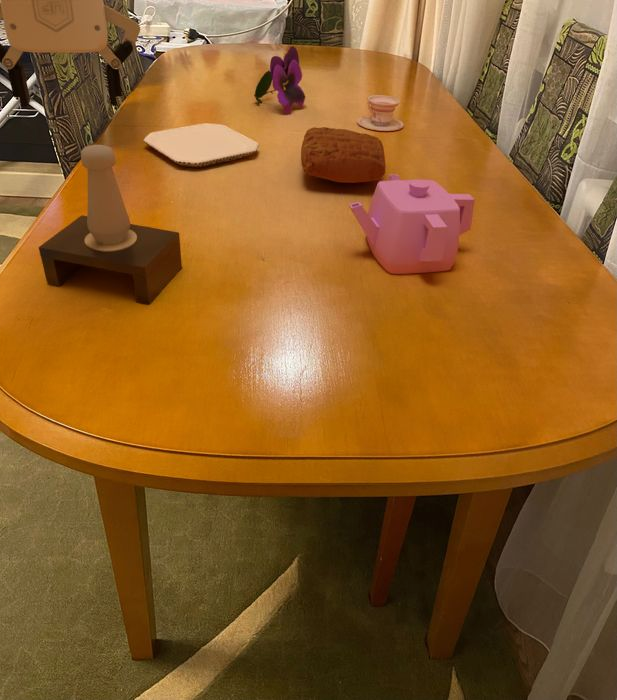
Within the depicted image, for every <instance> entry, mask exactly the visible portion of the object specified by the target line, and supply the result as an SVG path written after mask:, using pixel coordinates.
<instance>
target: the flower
mask: <svg viewBox="0 0 617 700" xmlns="http://www.w3.org/2000/svg"><path fill="white" fill-rule="evenodd" d="M302 78H303V72H302V68H301V65H300V57H299V53H298V50H297V48H296V47H295V46H294V45H293V46H290V47H289V49H288V50H287V52H286V54H285V55H284V57H283V59H282V58H281V57H280V56H278V55H273V56H272V57H271V58H270V62H269V70H268V71H266V72H265V73H264V74H263V75H262V76H261V78H260V79H259V81H258V82H257V85H256V87H255V90H254V94H253V96H254V98H255V100H256V101H257V102H258V103H259V104H263V100H261V98H263V97H264V96H266V95H267V94H269V93H270V94H274V92H277V94H276V97H277V101H278V103H279V104H281V106H283V113H284V115H291V114H292V109H293V105H294V104H297V106H299V107H300V108H301V109H303V107H304V103H305V100H306V94H305V91H304V90H303V89H302V87H301V86H300V85H299V83H300V82H301V81H302ZM271 86H272V88H273V90H270V87H271ZM269 90H270V91H269Z"/></svg>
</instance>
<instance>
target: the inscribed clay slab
mask: <svg viewBox="0 0 617 700" xmlns="http://www.w3.org/2000/svg"><path fill="white" fill-rule="evenodd" d="M384 148H385V147H384V145H383V142H382V140H381V139H379V138H378V137H376V136H374V135H371V134H369V133H363V132H362V133H361V132H357V131H353V130H350V129H344V128H333V127H327V126H323V127H313V126H312V127H311V128H309V129H307V130H306V132H305V134H304V136H303V140H302V143H301V148H300V162H301V163H300V164H301V167H302V170H303V172H304V173H305V174H307V175H309V176H311V177H312V176H313V177H316V178H319V179H324V180H328V181H332V182H337V183H343V184H344V183H345V184H347V183H348V184H352V183H353V184H354V183H355V184H356V183H368V182H374V181H377V180H380V179H382V178H384V176H385V174H386V155H385V149H384Z"/></svg>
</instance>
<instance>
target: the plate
mask: <svg viewBox="0 0 617 700" xmlns="http://www.w3.org/2000/svg"><path fill="white" fill-rule="evenodd" d="M143 143H144V144H146V145H147V146H149V147H150V148H152V149H154V150H155V151H157V152H158V153H160V154H161V155H163V156H165V157H166V158H168V159H169V160H171V161H172V162H174V163H176V164H177V165H180V166H181V167H188V168H204V167H208V166H212V165H217V164H222V163H227V162H231V161H236V160H239V159H244V158H247V157H248V156H250V155H252V154H254V153H256V152H257V151H258V149H259V146H260V144H259V142H257V141H256V140H254V139H252V138H250V137H248V136H246V135H244V134H242V133H240V132H239V131H236V130H235V129H232V128H230V127H229V126H226V125H224V124H220V123H210V122H204V123H197V124H193V125H192V124H191V125H187V126H182V127H175V128H170V129H169V128H168V129H164V130H158V131H153V132H150V133H148V134H147V135H146V136H145V137H144V139H143Z"/></svg>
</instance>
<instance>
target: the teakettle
mask: <svg viewBox="0 0 617 700" xmlns="http://www.w3.org/2000/svg"><path fill="white" fill-rule="evenodd" d="M387 177H388V179H387V180H380V181H379V182H378V183H377V185H376V187H375V190H374V192H373V196H372V198H371V201H370V205H369V208H368V212H367V211H366V209H365V208H364V207H363V204H362V202H360V201H357V202H353V203H349V204H348V207H349V209H350V211H351V212H352V213H353V215H354V217H355V219H356V220H357V222H358V224H359V225H360V227H361V229H362V230H363V232H364V233H365V235H366V240H367V244H368V246H369V249H370V251H371V254H372V255H373V257H374V258H375V259H376V261H377V262H378V263H379V265H380V266H381V267H382V268H383V269H384V271H386V272H387V273H389V274H391V275H408V274H411V275H412V274H429V273H439V272H446V271H450V270H451V268H452V267H453V266H454V263H455V261H456V259H457V256H458V252H459V251H458V250H459V243H460V236H461V235H464V234H465V233H467V232H469V231H470V230H472V224H473V223H472V222H473V215H474V208H475V198H474V197H473V196H472V195H471V194H470V193H449V192H448V191H447V190H446V189H445V188H444V187H443V186H441V185H440V184H439V183H438V182H436V181H434V180H432V179H419V178H416V179H415V178H414V179H400V177H401V176H400V175H398V174H397V173H395V174H388V176H387Z"/></svg>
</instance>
